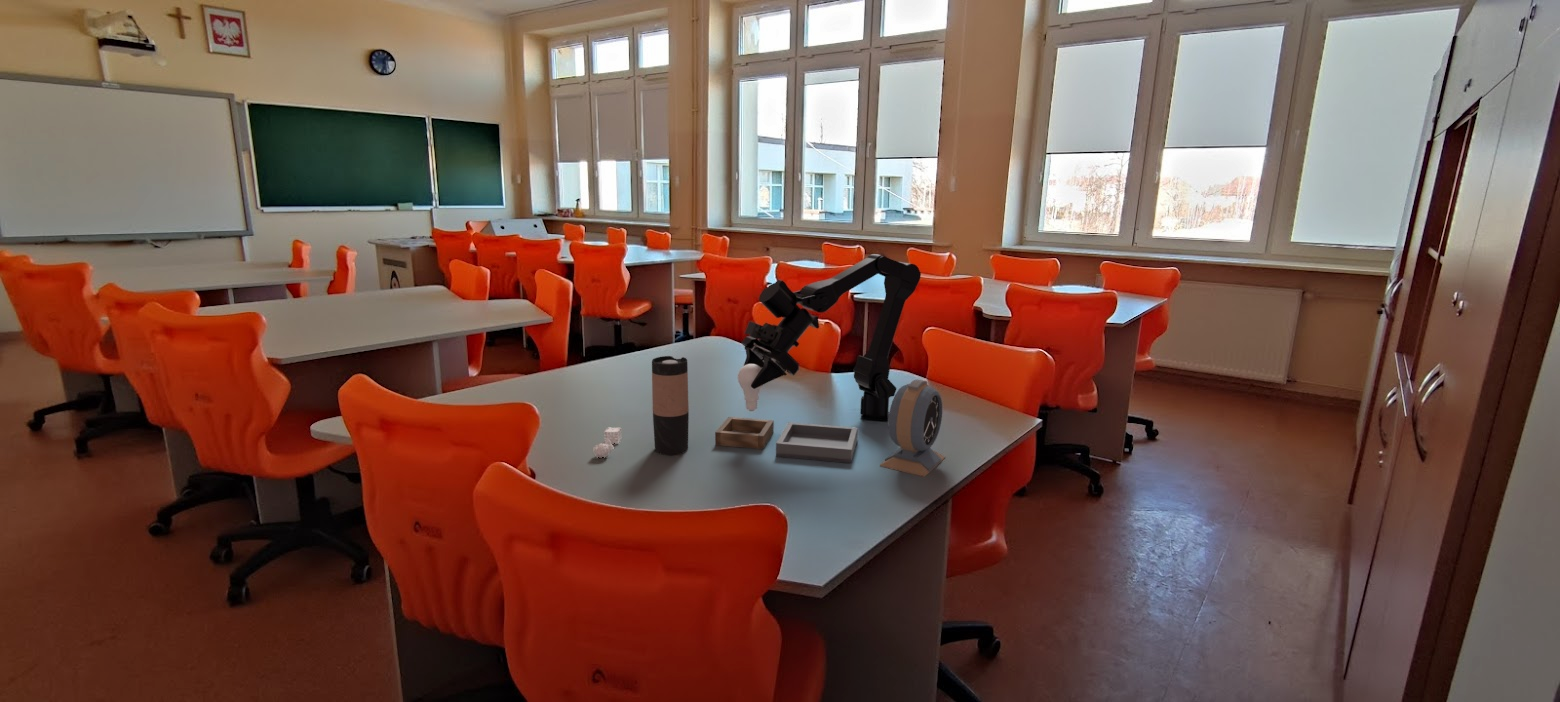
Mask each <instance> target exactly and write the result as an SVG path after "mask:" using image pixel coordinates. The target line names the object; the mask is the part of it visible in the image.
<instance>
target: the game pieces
mask: <svg viewBox="0 0 1560 702" xmlns="http://www.w3.org/2000/svg"><path fill="white" fill-rule="evenodd" d="M603 435H604V443H598V444H595V445H594V447H592V450H593V455H594V456H595V457H596V459H597V458H598V457H599V458H600V459H604V458H605V457H606V458H607V457H608V456H609V454H611V452H610V450H612V449H614V448H615V447H614V446H615V444H618V445H620V443H621V441H622V440H621V439H623V438H622V428H621V427H610V426H608V427H607V428H606V429H605V430H604V431H603ZM620 440H621V441H620ZM619 442H620V443H619ZM611 443H613V444H614V443H615V444H614V445H612V444H611ZM602 457H604V458H602ZM599 458H598V459H599Z"/></svg>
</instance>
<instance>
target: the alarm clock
mask: <svg viewBox="0 0 1560 702" xmlns="http://www.w3.org/2000/svg"><path fill="white" fill-rule="evenodd" d="M888 412H889V417H888V433H889V437H890V440H891V441H892V442H893V443H894V444H895V446H898V447H900V448H898V449H896V450H895V451H894V452H892V453H891V454H890V455H888V456H887V457H886V458H885V459H884V461H883V462H882V463H881V464H879V467H883V468H887V469H891V470H893V471H899V472H904V473H907V474H911V475H915V476H919V477H926V476H928V474H929V473H931V471H933V470H934V469H935V468H936V467H937V466H938V465H939V464H940V463H941V462H943V460H944V459H946V456H945V455H943V454H942V453H939V452H937V451H935V450H933V449H932V448H931V447H932V446H933V445H934V444H935V442H936V439H937V438H938V435H939V432H940V428H941V426H942V425H941V424H942V419H943V401H942V396H941V394H940V392H939V391H938V390H937V389H935V388H934V387H931V386H930V385H929V384H928V381H927V380H921V379H914V380H912V381H911V382H910V383H907V384H905V385H903V386H900V388H899V389H897V390H896V392H895V395H894V396H893V400H892V401H891V404H890V408H889V411H888Z"/></svg>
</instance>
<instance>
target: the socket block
mask: <svg viewBox="0 0 1560 702" xmlns="http://www.w3.org/2000/svg"><path fill="white" fill-rule="evenodd" d="M774 424H775V423H774V420H772V419H761V418H760V419H759V418H747V417H746V418H745V417H735V416H728V417H727V418H726V419H725V420H724V421H723V422H722V424H721V425H720V426H719V427H718V428H717V430H716V431H715V433H714V435H715V437H714V438H715V441H714V442H715V443H714V444H715V446H721V447H722V446H723V447H733V448H734V447H735V448H743V449H744V448H746V449H755V450H756V449H757V450H765V448H766V446H767V444H768V442H769V440H770V439H771V437H772V436H773V434H774V428H775V427H774Z"/></svg>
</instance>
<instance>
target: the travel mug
mask: <svg viewBox="0 0 1560 702" xmlns="http://www.w3.org/2000/svg"><path fill="white" fill-rule="evenodd" d="M688 370H689V369H688V359H687V357H683V356H682V357H681V358H674V357H673V356H671V355H664V356H663V355H662V356H657V357H654V358H652V360H651V382H652V385H651V389H652V390H651V391H652V397H651V398H652V421H653V422H652V423H653V424H652V425H653V434H654V435H653V436H654V437H653V439H654V449H655V452H656V453H657V452H658V453H657V454H660V453H661V455H664V454H666V455H665V456H674V454H676V455H681V454H683V452H684V453H686V452H687V451H688V449H689V423H690V422H689V419H690V417H689V411H690V409H689V404H690V403H689V373H688ZM680 453H681V454H680Z"/></svg>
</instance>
